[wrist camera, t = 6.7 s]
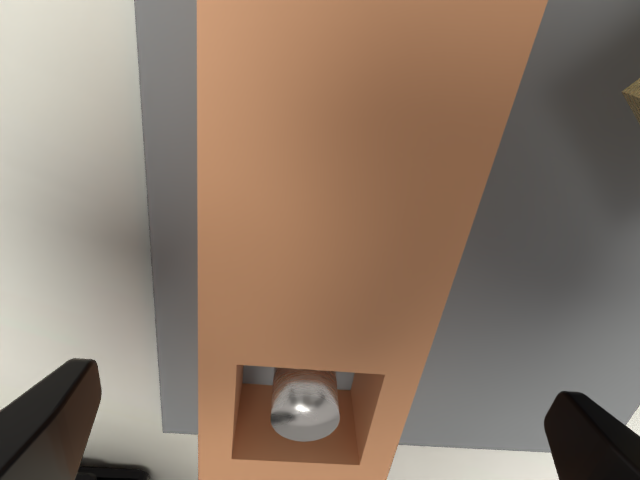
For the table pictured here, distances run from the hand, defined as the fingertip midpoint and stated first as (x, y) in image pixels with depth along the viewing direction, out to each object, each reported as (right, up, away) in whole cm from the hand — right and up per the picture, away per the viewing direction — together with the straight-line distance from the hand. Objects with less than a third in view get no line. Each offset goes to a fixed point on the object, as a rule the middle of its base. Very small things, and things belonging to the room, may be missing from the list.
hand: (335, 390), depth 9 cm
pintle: (-1, -1, +7) cm, 7 cm away
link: (0, +3, +5) cm, 6 cm away
